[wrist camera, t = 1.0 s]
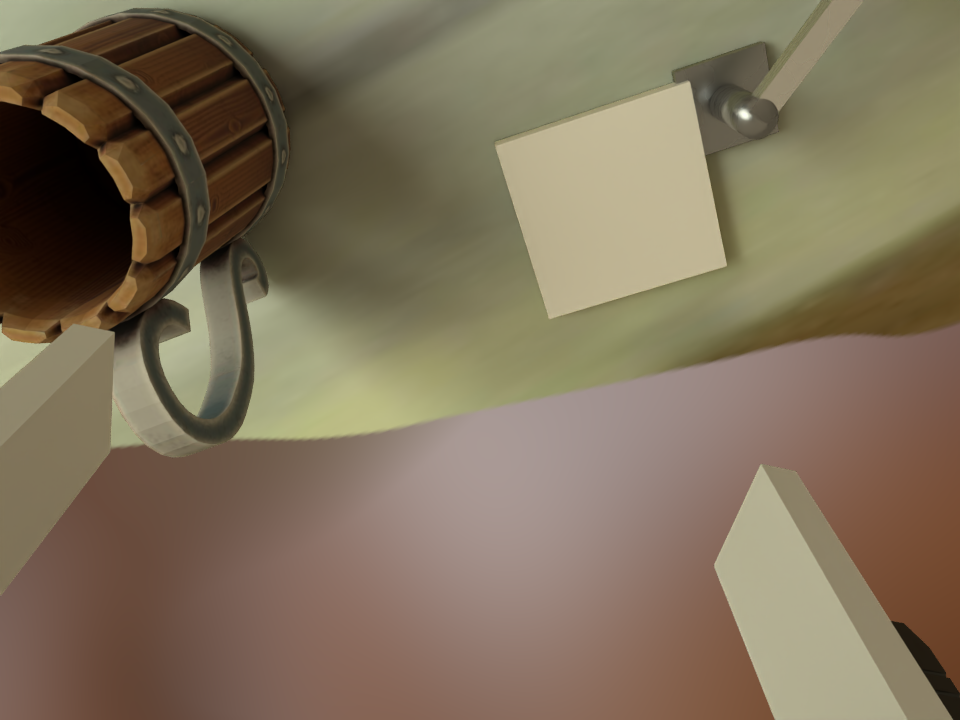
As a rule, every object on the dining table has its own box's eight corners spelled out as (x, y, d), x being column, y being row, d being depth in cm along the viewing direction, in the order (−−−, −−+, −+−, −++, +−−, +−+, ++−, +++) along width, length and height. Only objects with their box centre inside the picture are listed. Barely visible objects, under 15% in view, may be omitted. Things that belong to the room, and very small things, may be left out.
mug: (16, 62, 36) (-263, 119, 22) (224, -35, 34) (58, -38, 21) (195, 354, 42) (63, 536, 29) (378, 285, 40) (328, 443, 27)
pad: (494, 141, 37) (495, 146, 36) (684, 78, 36) (690, 81, 35) (547, 311, 41) (549, 319, 40) (721, 259, 40) (727, 266, 39)
